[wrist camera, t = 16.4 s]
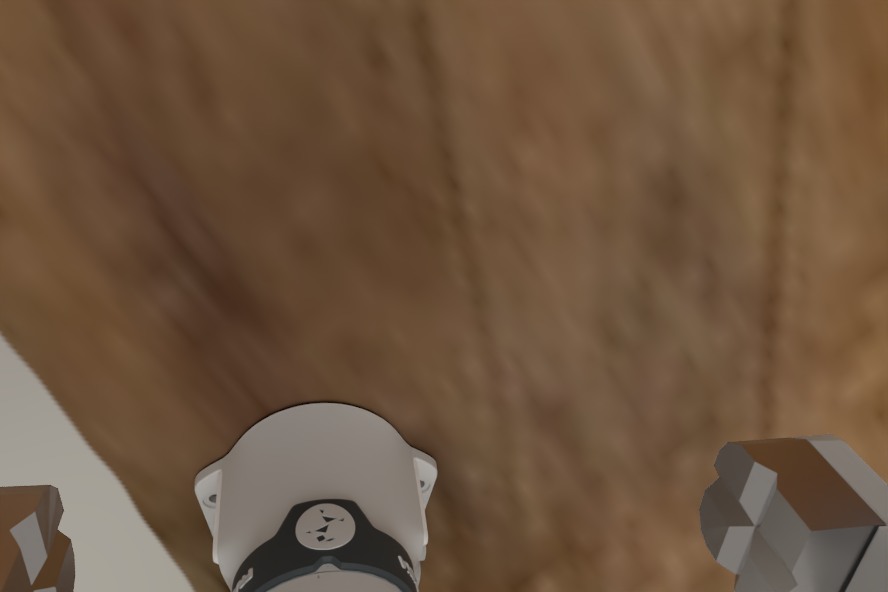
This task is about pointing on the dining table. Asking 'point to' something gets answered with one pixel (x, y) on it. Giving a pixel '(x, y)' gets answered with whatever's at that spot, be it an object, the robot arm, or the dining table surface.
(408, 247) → the dining table surface
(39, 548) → the robot arm
